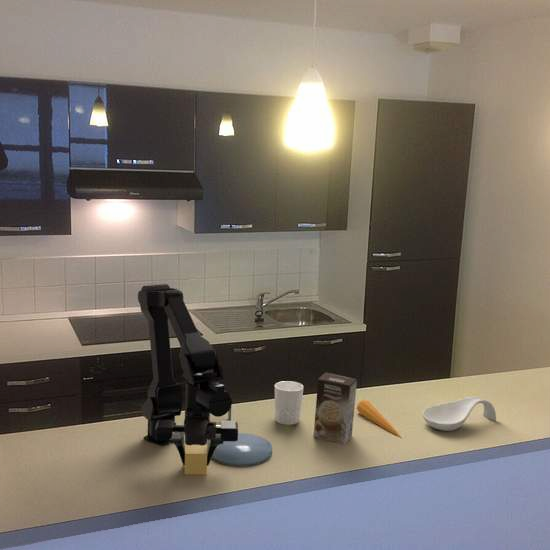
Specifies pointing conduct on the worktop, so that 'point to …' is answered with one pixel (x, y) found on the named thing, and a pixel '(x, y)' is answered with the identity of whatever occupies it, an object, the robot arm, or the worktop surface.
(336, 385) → the coffee box
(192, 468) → the block
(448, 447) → the worktop surface
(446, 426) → the spoon rest
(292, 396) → the white cup
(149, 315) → the robot arm
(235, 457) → the dish
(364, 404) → the carrot
